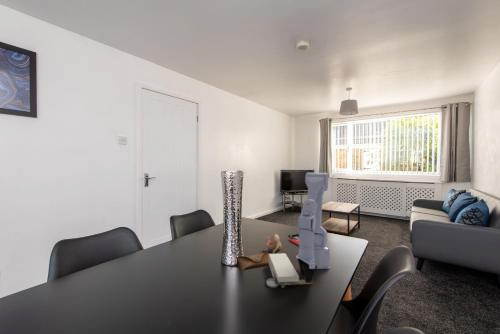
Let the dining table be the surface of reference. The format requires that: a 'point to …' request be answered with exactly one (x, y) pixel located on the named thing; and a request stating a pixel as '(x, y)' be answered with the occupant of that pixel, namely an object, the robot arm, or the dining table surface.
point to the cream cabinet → (282, 268)
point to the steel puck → (272, 282)
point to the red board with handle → (295, 239)
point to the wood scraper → (293, 283)
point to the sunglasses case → (253, 261)
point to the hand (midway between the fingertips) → (306, 278)
